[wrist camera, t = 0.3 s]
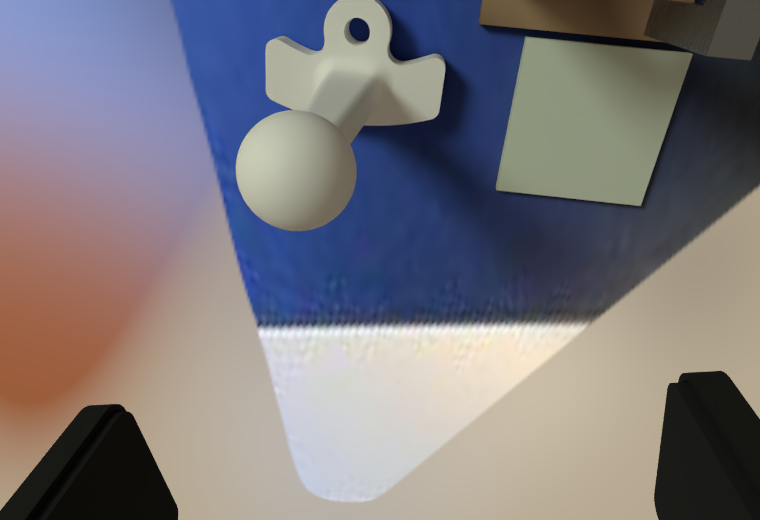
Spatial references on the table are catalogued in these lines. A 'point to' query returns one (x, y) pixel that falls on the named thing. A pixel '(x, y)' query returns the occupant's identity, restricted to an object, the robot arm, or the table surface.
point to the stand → (572, 16)
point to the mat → (589, 119)
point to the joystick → (329, 115)
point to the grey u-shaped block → (707, 26)
